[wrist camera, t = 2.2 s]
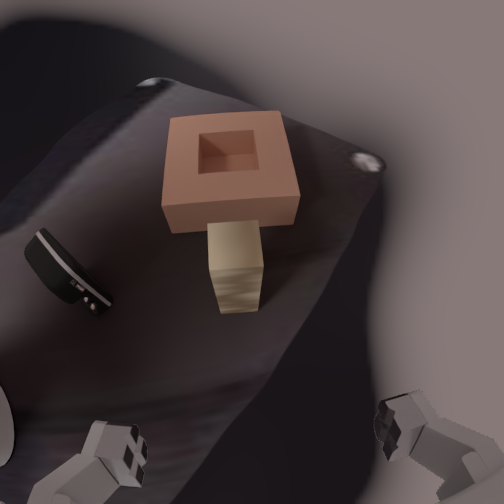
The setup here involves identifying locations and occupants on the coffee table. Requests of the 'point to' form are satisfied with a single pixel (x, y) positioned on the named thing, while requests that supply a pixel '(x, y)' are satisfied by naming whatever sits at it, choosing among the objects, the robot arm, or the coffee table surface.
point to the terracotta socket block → (228, 171)
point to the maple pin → (236, 265)
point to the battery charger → (65, 273)
